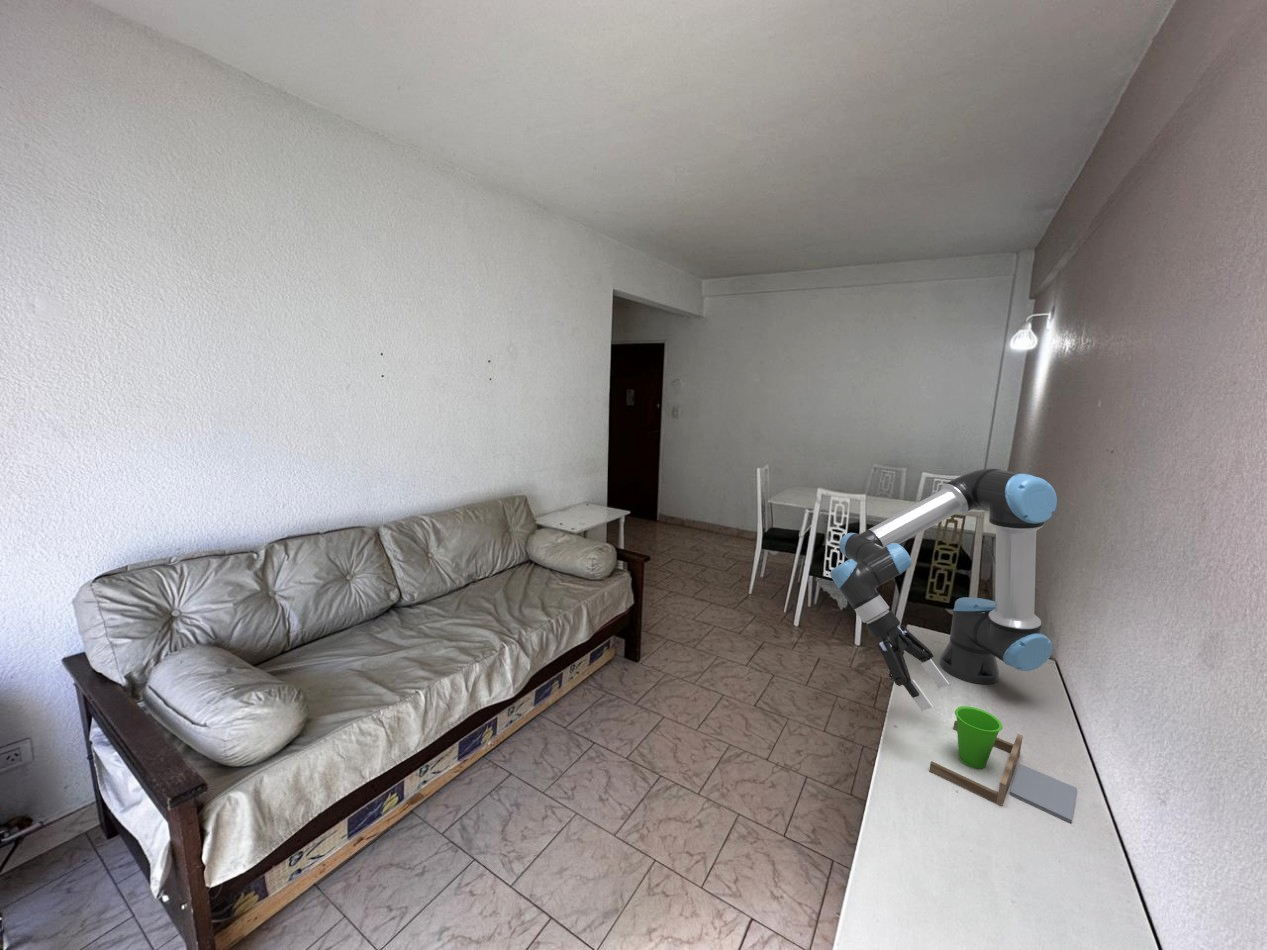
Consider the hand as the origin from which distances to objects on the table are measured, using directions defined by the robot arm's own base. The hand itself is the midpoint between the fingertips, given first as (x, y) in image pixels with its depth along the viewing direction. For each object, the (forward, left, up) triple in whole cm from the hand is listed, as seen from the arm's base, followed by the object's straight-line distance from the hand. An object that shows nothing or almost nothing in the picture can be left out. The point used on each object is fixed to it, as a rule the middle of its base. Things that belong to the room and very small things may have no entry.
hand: (936, 697), depth 120 cm
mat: (-1, +21, -12) cm, 25 cm away
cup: (-1, +8, -13) cm, 15 cm away
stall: (-1, +8, -12) cm, 15 cm away
